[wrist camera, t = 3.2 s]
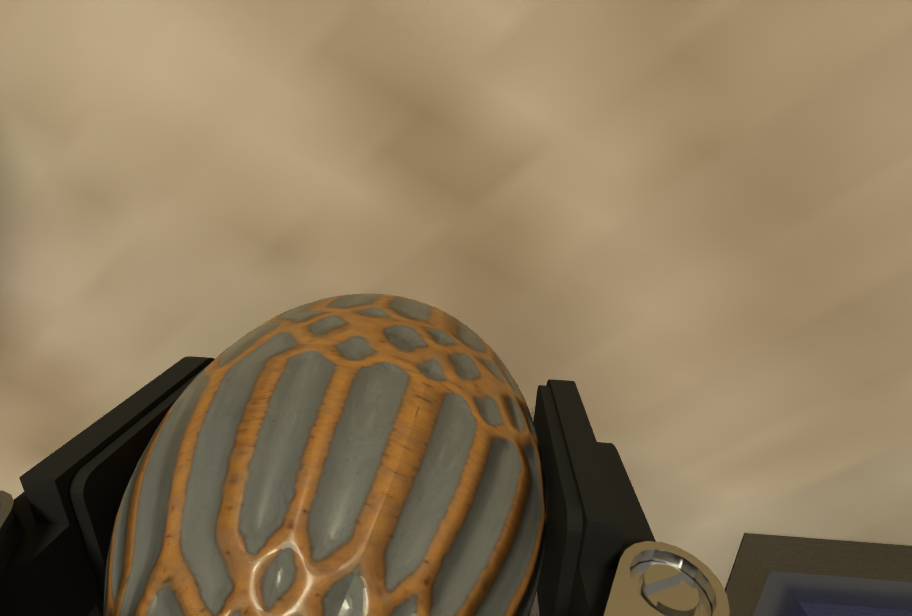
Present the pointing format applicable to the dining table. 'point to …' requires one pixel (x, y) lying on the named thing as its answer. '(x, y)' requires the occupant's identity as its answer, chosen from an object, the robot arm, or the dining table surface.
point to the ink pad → (819, 578)
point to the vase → (338, 476)
